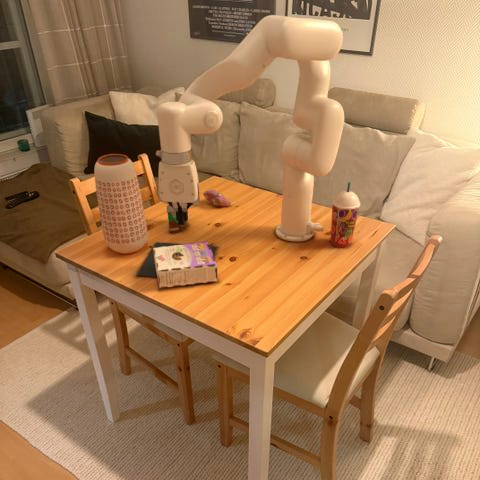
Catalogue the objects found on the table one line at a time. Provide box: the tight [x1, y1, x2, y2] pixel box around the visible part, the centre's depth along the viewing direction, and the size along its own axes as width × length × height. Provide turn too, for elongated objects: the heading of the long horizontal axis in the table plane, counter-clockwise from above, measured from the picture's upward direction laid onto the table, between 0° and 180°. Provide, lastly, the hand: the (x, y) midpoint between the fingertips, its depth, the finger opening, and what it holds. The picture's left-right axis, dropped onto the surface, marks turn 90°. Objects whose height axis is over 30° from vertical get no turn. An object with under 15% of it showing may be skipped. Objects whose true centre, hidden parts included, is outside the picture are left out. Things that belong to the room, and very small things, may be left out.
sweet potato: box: [203, 188, 231, 207], centre depth 169 cm, size 10×5×7 cm, turn 47°
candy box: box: [152, 241, 218, 289], centre depth 129 cm, size 14×6×16 cm
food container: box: [166, 202, 187, 234], centre depth 153 cm, size 12×6×10 cm, turn 179°
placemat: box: [136, 242, 218, 279], centre depth 137 cm, size 20×20×1 cm
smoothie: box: [330, 181, 361, 248], centre depth 140 cm, size 8×8×20 cm
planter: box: [93, 153, 148, 255], centre depth 135 cm, size 13×13×28 cm
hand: (182, 223), depth 126 cm, fingers closed
